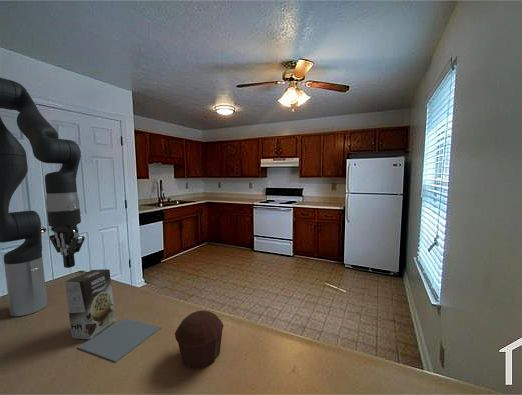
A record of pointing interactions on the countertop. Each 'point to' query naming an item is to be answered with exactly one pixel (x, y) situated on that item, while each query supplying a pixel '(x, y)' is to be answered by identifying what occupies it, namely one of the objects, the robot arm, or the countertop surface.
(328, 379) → the countertop surface
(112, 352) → the mat
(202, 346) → the muffin
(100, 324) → the coffee box
